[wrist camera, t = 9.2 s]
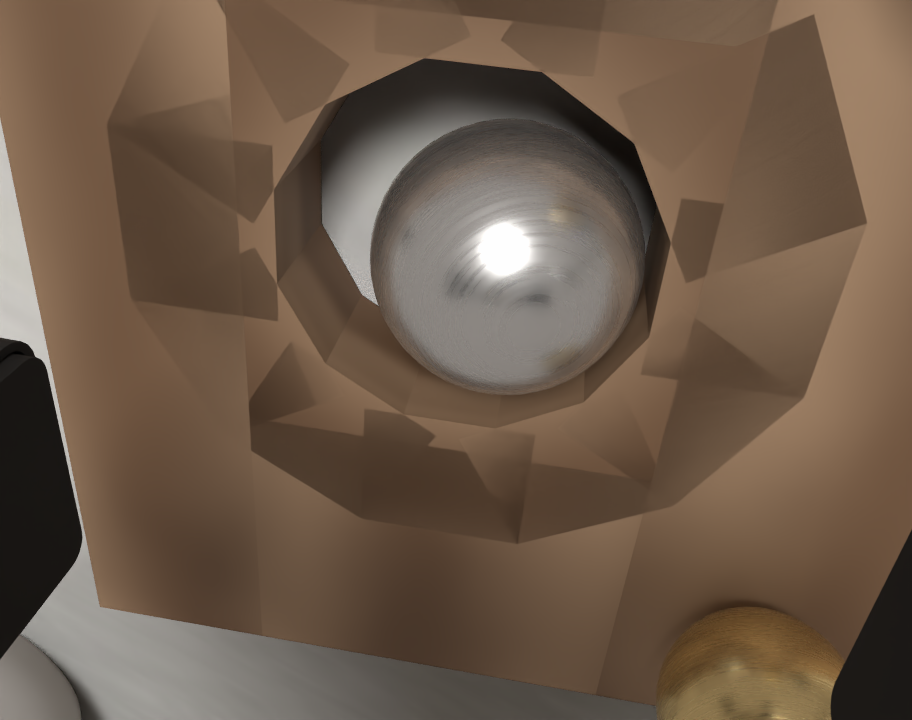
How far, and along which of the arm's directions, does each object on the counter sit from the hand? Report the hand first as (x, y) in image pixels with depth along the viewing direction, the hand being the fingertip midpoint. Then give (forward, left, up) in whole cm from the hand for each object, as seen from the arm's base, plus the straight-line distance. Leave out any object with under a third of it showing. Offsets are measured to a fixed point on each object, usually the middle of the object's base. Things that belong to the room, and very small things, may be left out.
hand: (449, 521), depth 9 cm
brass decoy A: (-6, +8, -5) cm, 11 cm away
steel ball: (0, 0, -7) cm, 7 cm away
